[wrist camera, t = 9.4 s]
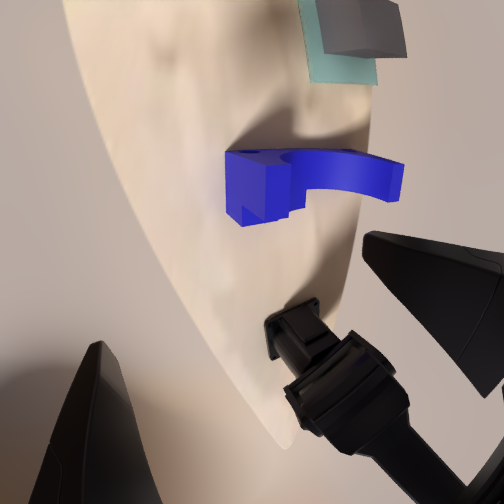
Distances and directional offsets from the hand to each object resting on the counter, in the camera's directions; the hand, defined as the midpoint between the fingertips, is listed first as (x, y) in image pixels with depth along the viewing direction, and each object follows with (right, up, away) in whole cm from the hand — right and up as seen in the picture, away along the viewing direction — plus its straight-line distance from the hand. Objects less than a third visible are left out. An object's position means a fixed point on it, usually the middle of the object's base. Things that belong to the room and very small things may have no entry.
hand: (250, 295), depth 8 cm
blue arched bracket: (+3, +7, +14) cm, 16 cm away
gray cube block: (+7, +19, +8) cm, 22 cm away
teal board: (+7, +20, +8) cm, 22 cm away
